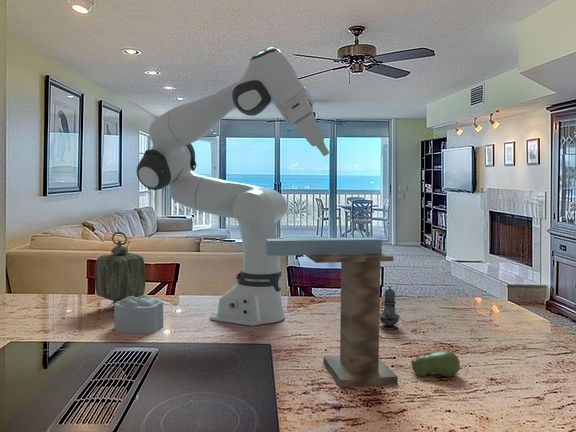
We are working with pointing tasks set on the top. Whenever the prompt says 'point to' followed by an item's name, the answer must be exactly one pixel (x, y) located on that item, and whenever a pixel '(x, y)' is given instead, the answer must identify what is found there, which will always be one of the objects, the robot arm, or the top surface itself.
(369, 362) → the shelf stand
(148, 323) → the lumpy-topped squat cylinder
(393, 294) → the dark chess piece
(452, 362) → the pear
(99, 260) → the tabletop clock
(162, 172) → the robot arm
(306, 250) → the batten
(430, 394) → the top surface
